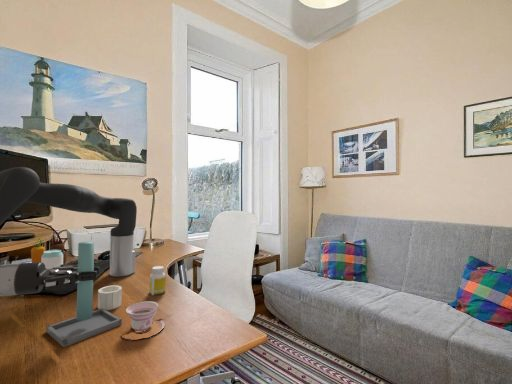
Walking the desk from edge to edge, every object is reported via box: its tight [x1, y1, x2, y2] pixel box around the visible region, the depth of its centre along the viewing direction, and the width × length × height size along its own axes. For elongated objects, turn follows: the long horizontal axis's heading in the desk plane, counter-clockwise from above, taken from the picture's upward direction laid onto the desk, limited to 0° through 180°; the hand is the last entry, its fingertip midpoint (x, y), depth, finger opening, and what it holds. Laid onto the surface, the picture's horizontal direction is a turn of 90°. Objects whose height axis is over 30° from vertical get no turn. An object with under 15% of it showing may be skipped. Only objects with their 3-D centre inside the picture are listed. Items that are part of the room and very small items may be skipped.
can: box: [41, 249, 63, 269], centre depth 111 cm, size 7×7×12 cm
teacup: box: [120, 300, 166, 339], centre depth 76 cm, size 12×12×6 cm
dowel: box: [75, 241, 95, 321], centre depth 74 cm, size 4×4×20 cm
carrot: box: [30, 237, 47, 263], centre depth 120 cm, size 5×5×15 cm
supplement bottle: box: [149, 265, 167, 296], centre depth 100 cm, size 5×5×10 cm
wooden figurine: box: [50, 235, 68, 265], centre depth 128 cm, size 7×6×15 cm
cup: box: [97, 284, 123, 311], centre depth 88 cm, size 7×7×6 cm
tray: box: [45, 308, 123, 348], centre depth 74 cm, size 14×11×2 cm
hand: (97, 272), depth 75 cm, fingers closed on dowel, 3 cm apart
